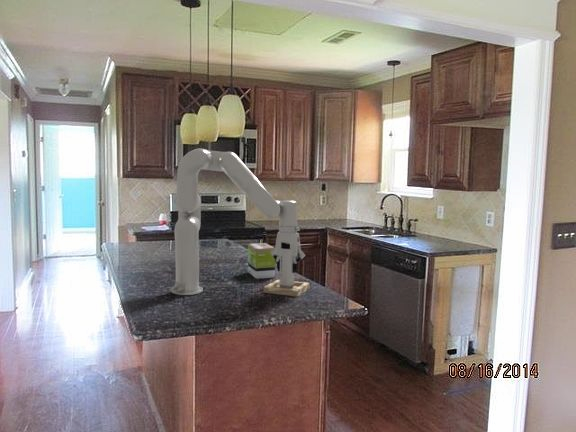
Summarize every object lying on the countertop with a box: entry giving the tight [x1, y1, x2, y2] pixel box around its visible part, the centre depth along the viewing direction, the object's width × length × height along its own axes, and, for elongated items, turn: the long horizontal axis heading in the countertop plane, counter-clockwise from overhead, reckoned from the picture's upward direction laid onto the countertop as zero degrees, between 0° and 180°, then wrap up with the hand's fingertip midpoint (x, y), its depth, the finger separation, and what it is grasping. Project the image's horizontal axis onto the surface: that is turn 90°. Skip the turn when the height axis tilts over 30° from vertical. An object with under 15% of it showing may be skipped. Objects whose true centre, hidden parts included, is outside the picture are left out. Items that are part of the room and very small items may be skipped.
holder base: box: [263, 278, 311, 297], centre depth 202 cm, size 15×15×2 cm
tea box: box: [247, 242, 276, 280], centre depth 231 cm, size 15×10×15 cm
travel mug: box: [279, 242, 295, 288], centre depth 201 cm, size 6×7×20 cm
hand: (287, 271), depth 201 cm, fingers closed on travel mug, 6 cm apart
